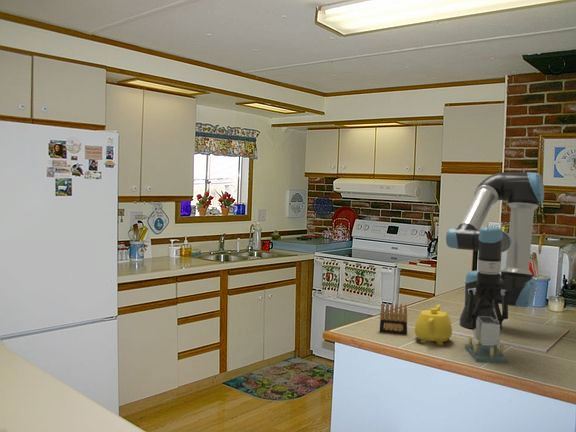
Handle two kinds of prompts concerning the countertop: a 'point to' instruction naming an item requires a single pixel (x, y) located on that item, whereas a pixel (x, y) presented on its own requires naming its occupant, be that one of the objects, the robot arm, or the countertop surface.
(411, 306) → the countertop surface
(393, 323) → the ammunition clip
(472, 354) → the pegboard
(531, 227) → the robot arm
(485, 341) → the grey box
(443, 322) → the teapot
